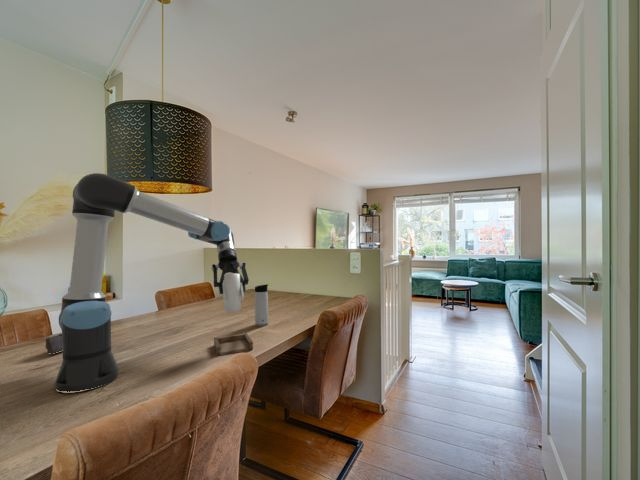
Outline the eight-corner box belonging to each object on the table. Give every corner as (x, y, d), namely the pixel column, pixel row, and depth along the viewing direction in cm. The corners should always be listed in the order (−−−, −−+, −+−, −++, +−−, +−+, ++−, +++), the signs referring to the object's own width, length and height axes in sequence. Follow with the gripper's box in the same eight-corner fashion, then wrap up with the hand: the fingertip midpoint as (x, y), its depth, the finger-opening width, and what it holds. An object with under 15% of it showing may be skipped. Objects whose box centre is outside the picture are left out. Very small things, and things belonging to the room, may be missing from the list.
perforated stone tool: (76, 343, 125) (76, 327, 125) (88, 344, 125) (87, 327, 125) (39, 357, 110) (38, 339, 110) (51, 358, 110) (51, 339, 110)
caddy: (217, 355, 109) (217, 347, 109) (214, 345, 120) (213, 338, 120) (252, 349, 115) (252, 342, 115) (246, 340, 125) (246, 333, 125)
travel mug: (265, 326, 145) (265, 285, 145) (253, 326, 146) (252, 285, 146) (270, 323, 151) (270, 283, 151) (258, 322, 152) (257, 283, 152)
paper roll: (225, 312, 113) (225, 275, 113) (223, 309, 119) (223, 273, 119) (241, 310, 116) (241, 274, 116) (239, 307, 121) (238, 272, 121)
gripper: (248, 259, 135) (257, 302, 120) (203, 261, 127) (207, 307, 112) (250, 247, 130) (260, 291, 116) (204, 249, 122) (208, 295, 108)
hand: (234, 299), depth 114 cm, fingers closed on paper roll, 6 cm apart
